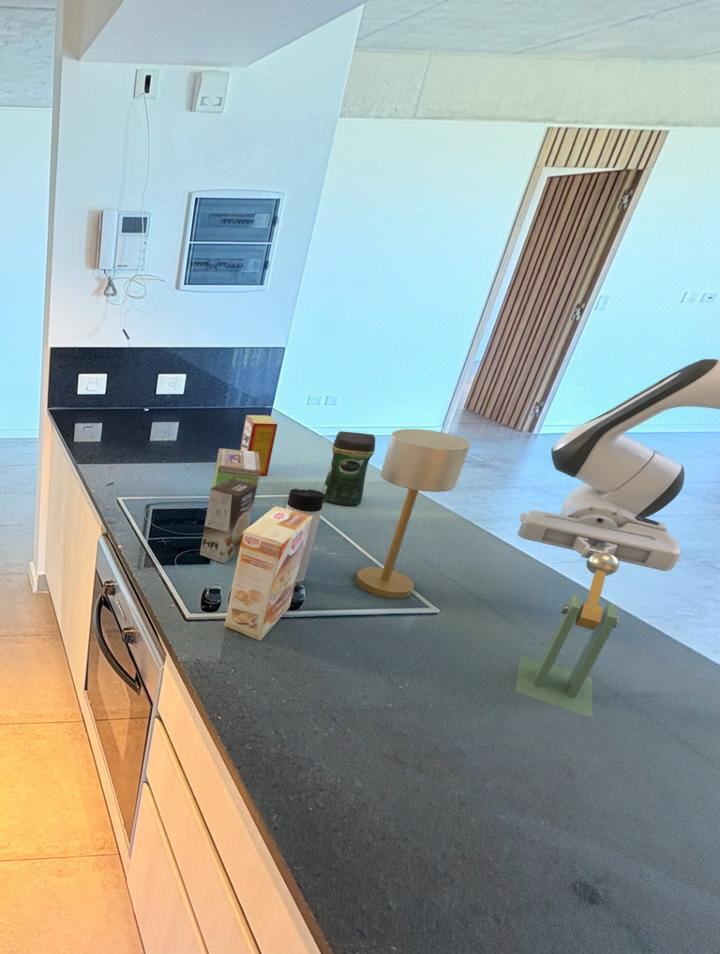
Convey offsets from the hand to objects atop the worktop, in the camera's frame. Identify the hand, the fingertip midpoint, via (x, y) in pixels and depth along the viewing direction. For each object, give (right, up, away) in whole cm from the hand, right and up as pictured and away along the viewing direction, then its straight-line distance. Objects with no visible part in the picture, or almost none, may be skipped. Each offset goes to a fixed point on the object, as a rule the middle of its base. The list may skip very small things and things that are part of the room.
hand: (594, 555), depth 101 cm
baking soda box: (-21, +24, +85) cm, 91 cm away
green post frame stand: (-11, -21, -4) cm, 24 cm away
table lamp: (-19, -7, +25) cm, 32 cm away
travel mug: (-38, -6, +27) cm, 47 cm away
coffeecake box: (-49, -12, +15) cm, 53 cm away
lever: (-8, -6, -7) cm, 12 cm away
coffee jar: (-6, +13, +64) cm, 66 cm away
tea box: (-39, +10, +57) cm, 70 cm away
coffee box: (-48, -1, +37) cm, 61 cm away
